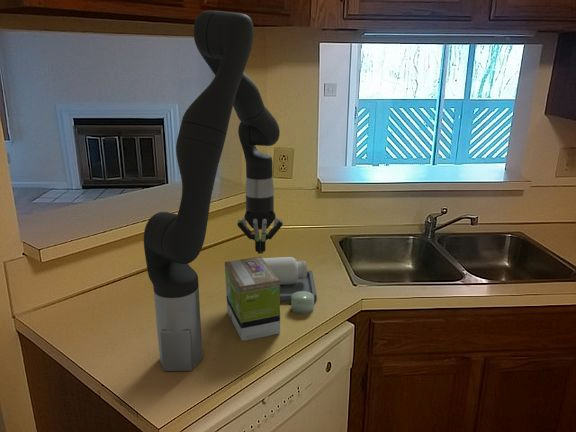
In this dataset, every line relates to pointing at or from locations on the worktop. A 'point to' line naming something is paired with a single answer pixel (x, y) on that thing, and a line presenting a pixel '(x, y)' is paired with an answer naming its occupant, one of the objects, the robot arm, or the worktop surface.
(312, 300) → the squat mint cylinder
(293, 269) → the pill bottle
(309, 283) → the tray
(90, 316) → the worktop surface
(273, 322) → the tea box
